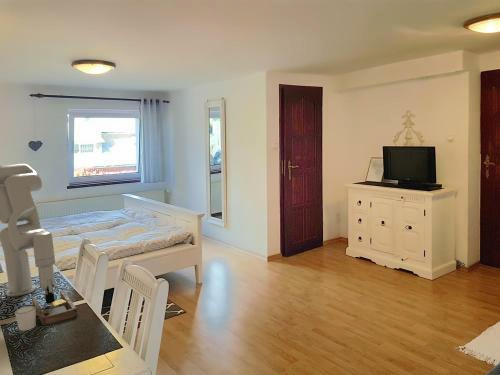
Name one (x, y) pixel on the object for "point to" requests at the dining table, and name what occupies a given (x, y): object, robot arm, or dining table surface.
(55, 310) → the counterweight
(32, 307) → the white cylinder
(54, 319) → the brown wooden tray
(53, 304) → the yellow square block
